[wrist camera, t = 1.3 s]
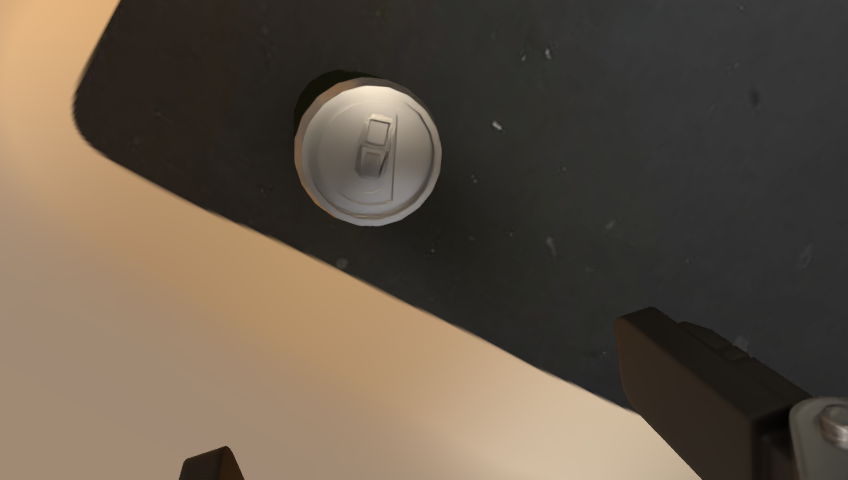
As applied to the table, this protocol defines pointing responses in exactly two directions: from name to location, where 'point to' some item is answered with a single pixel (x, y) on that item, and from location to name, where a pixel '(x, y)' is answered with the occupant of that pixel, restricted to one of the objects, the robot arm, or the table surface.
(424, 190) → the guarana soda can
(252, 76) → the table surface
